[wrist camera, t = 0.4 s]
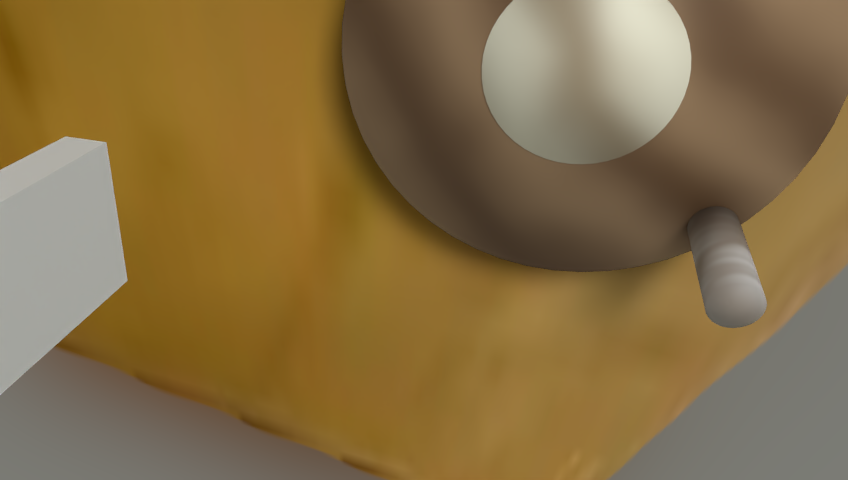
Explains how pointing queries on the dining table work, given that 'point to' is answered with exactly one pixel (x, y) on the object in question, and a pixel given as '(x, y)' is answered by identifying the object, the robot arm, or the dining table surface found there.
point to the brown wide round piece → (599, 124)
